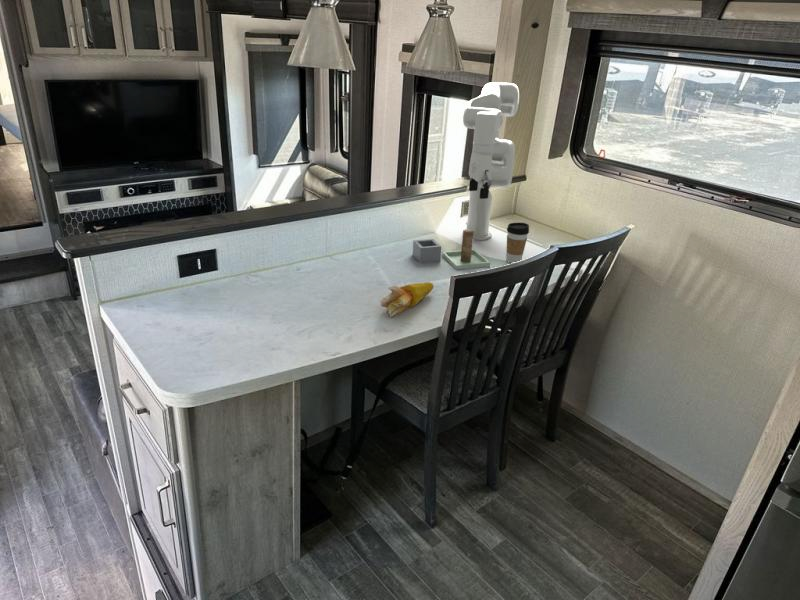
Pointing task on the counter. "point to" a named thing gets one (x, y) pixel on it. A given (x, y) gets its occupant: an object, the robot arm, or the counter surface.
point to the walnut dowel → (467, 245)
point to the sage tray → (454, 260)
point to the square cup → (426, 250)
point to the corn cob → (405, 297)
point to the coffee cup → (516, 241)
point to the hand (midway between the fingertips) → (478, 194)
